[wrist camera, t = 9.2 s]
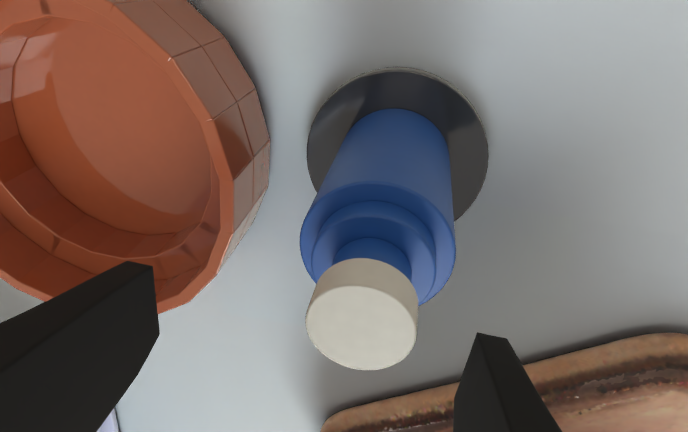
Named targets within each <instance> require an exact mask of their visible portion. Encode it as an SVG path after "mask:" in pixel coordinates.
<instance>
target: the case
mask: <svg viewBox="0 0 688 432" xmlns="http://www.w3.org/2000/svg"><path fill="white" fill-rule="evenodd" d="M522 366H523V367H524V369H525V371H526V373H527V374H528V376H529V378H530V380H531V381H532V383H533V385H534V386H535V388H536V390H537V391H538V393H539V395H540V397H541V398H542V400H543V402H544V403H545V405H546V406H547V408H548V410H549V411H550V413H551V415H552V416H553V418H554V419H555V421H556V422H557V424H558V426H559V427H560V429H561V430H562V432H688V334H682V333H653V334H646V335H639V336H635V337H630V338H625V339H621V340H617V341H614V342H610V343H607V344H603V345H599V346H595V347H591V348H587V349H583V350H579V351H575V352H571V353H568V354H564V355H560V356H557V357H553V358H549V359H545V360H541V361H537V362H534V363H530V364H526V365H522ZM459 383H460V382H456V383H452V384H448V385H444V386H440V387H436V388H431V389H426V390H422V391H418V392H414V393H410V394H407V395H403V396H397V397H393V398H389V399H385V400H381V401H377V402H373V403H369V404H365V405H361V406H356V407H352V408H348V409H345V410H342V411H340V412H338V413H336V414H334V415H332V416H331V417H329V418H328V419H327V420H326V421H325V423H324V424H323V426H322V428H321V431H320V432H453V415H454V397H455V394H456V391H457V388H458V386H459Z"/></svg>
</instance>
